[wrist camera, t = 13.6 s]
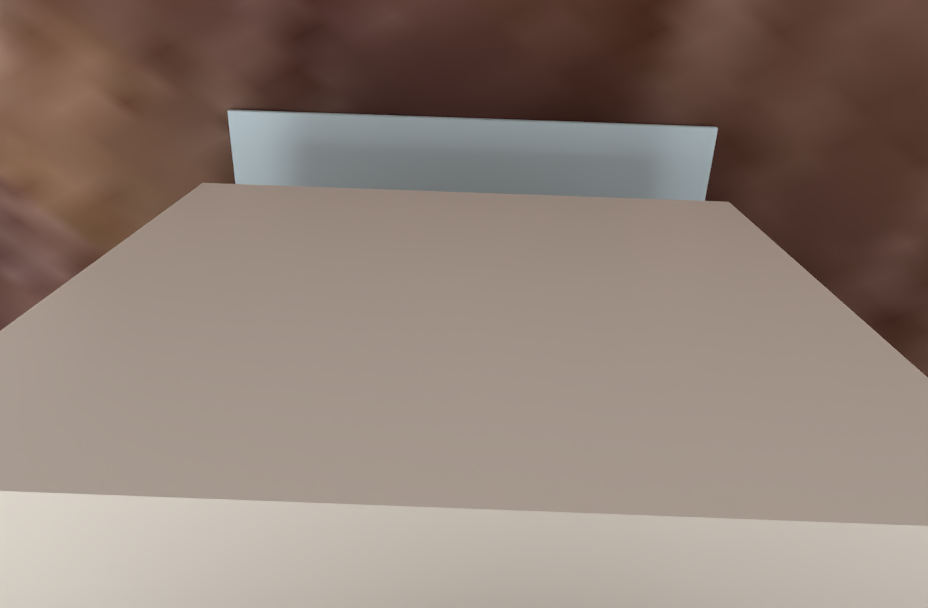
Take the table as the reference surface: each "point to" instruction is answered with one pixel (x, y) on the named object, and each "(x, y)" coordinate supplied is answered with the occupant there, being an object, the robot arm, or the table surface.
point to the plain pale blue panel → (471, 154)
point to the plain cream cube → (455, 414)
